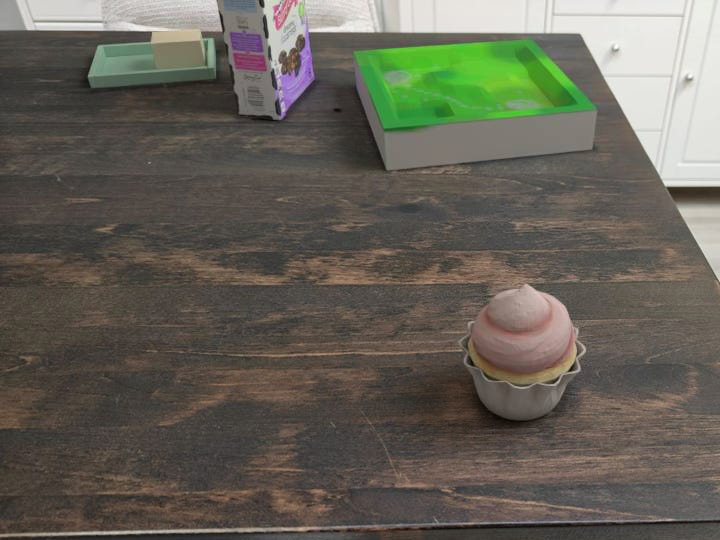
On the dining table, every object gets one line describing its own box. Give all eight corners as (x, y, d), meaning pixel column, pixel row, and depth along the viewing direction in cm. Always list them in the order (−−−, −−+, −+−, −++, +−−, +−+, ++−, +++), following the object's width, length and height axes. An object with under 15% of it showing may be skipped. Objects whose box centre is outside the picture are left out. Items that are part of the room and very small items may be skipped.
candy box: (281, 122, 94) (258, -20, 83) (237, 118, 94) (208, -24, 84) (317, 82, 104) (300, -49, 93) (276, 78, 105) (255, -52, 94)
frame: (92, 92, 100) (87, 76, 98) (102, 59, 109) (97, 45, 107) (217, 82, 103) (213, 67, 102) (216, 52, 112) (213, 37, 111)
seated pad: (157, 72, 104) (150, 43, 101) (159, 60, 107) (152, 31, 105) (206, 69, 105) (200, 40, 103) (206, 57, 109) (200, 28, 106)
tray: (528, 74, 108) (531, 39, 104) (592, 149, 90) (597, 109, 86) (356, 88, 102) (353, 51, 99) (386, 170, 84) (384, 128, 81)
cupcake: (577, 356, 61) (591, 252, 54) (581, 440, 54) (598, 332, 47) (463, 350, 61) (463, 245, 54) (452, 433, 54) (451, 324, 47)
